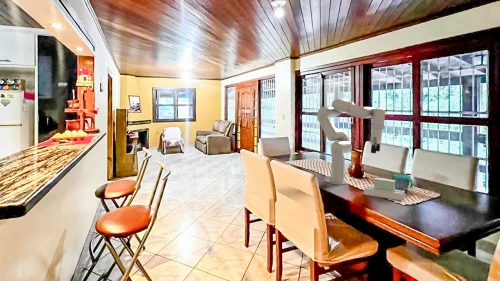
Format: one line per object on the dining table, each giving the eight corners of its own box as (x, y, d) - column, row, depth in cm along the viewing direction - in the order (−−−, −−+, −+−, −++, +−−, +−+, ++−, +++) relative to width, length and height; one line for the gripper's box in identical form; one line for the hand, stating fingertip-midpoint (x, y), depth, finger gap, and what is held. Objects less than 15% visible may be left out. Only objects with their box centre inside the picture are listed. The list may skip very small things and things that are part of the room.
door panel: (373, 192, 196) (374, 178, 195) (374, 191, 199) (375, 177, 198) (393, 195, 189) (394, 181, 188) (394, 194, 192) (395, 180, 191)
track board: (363, 194, 197) (363, 188, 197) (367, 190, 205) (367, 185, 205) (402, 200, 184) (402, 194, 183) (404, 196, 192) (405, 190, 191)
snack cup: (416, 192, 201) (417, 177, 200) (404, 193, 198) (405, 178, 197) (399, 186, 216) (399, 172, 215) (387, 187, 213) (387, 173, 212)
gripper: (375, 125, 207) (372, 149, 210) (368, 127, 193) (365, 153, 196) (386, 126, 203) (384, 151, 205) (380, 128, 189) (377, 154, 192)
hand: (375, 152), depth 201 cm, fingers open, 9 cm apart
